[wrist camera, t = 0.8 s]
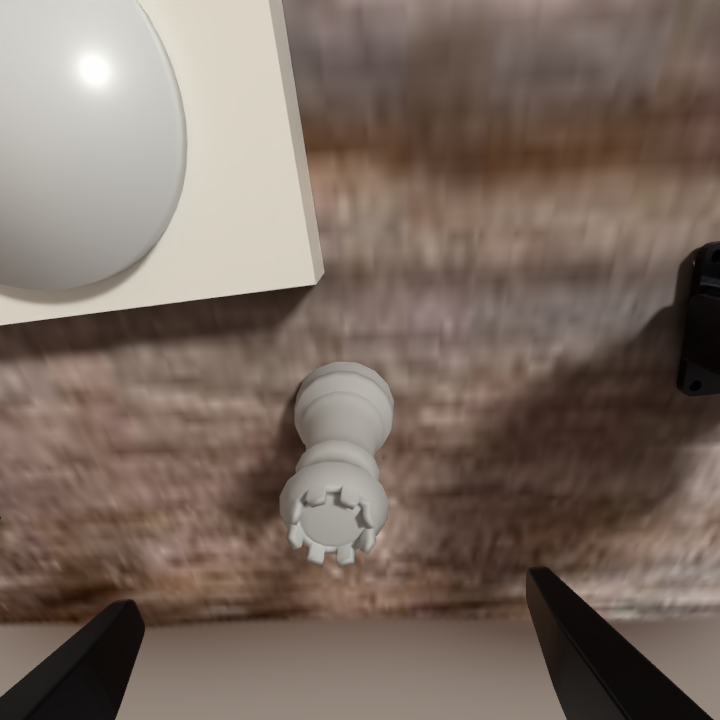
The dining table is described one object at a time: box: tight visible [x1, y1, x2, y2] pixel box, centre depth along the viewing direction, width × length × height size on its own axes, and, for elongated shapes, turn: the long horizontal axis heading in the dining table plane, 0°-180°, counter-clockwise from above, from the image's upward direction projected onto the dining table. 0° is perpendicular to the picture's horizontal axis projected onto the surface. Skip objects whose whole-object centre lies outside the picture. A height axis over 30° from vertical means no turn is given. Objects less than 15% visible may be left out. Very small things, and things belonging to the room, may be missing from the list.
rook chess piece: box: [280, 362, 394, 567], centre depth 15 cm, size 4×4×8 cm
